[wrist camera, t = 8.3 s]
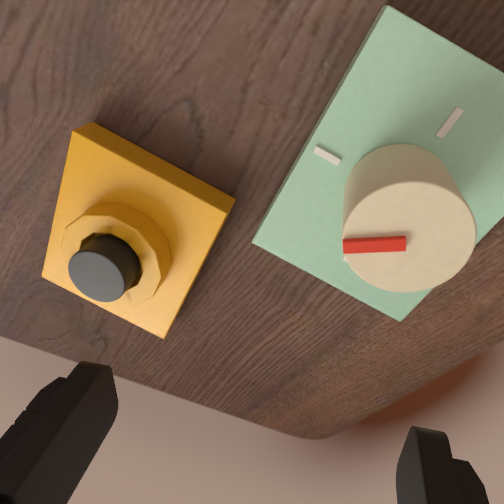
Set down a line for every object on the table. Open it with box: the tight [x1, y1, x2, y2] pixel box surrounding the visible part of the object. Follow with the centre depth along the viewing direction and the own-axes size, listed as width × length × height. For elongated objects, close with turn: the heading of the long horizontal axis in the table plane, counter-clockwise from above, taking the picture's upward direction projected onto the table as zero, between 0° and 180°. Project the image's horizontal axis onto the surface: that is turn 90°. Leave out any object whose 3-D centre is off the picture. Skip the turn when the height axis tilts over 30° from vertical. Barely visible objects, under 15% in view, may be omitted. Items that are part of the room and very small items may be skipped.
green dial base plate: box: [252, 5, 504, 322], centre depth 21 cm, size 13×10×3 cm
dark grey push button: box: [68, 235, 140, 302], centre depth 25 cm, size 4×4×2 cm
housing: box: [42, 122, 236, 339], centre depth 27 cm, size 12×10×4 cm
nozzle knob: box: [342, 144, 477, 293], centre depth 18 cm, size 5×5×5 cm
